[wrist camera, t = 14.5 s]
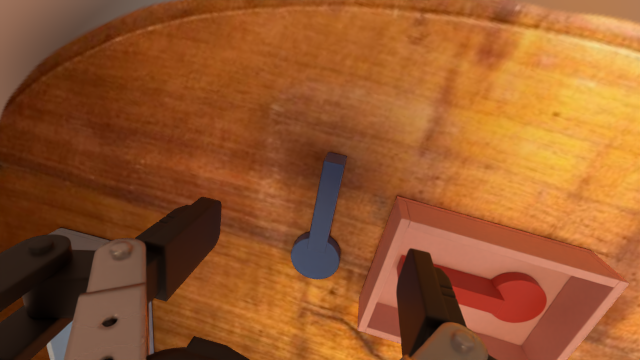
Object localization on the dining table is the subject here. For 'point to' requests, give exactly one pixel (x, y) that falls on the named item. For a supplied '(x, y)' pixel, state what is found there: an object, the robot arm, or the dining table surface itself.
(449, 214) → the rose bin
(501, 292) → the red spoon
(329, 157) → the blue spoon
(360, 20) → the dining table surface
